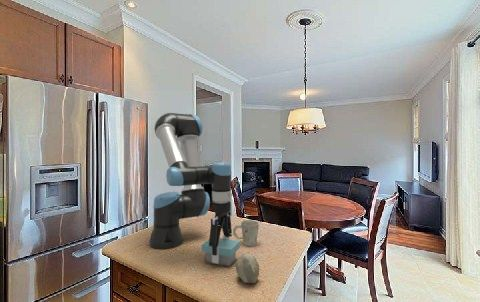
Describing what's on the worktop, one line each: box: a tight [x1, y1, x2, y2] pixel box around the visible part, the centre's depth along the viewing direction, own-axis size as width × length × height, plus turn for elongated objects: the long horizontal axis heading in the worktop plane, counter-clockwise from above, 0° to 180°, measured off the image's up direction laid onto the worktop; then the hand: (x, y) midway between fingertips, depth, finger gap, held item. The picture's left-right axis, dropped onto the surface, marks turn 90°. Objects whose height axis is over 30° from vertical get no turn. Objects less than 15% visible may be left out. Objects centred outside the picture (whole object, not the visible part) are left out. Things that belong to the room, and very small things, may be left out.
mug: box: [232, 219, 260, 247], centre depth 116 cm, size 8×13×10 cm, turn 78°
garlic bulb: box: [235, 253, 260, 284], centre depth 83 cm, size 9×8×10 cm
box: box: [205, 251, 237, 268], centre depth 98 cm, size 10×6×6 cm, turn 69°
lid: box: [200, 237, 241, 257], centre depth 98 cm, size 13×9×3 cm
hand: (221, 257), depth 98 cm, fingers closed on lid, 9 cm apart
